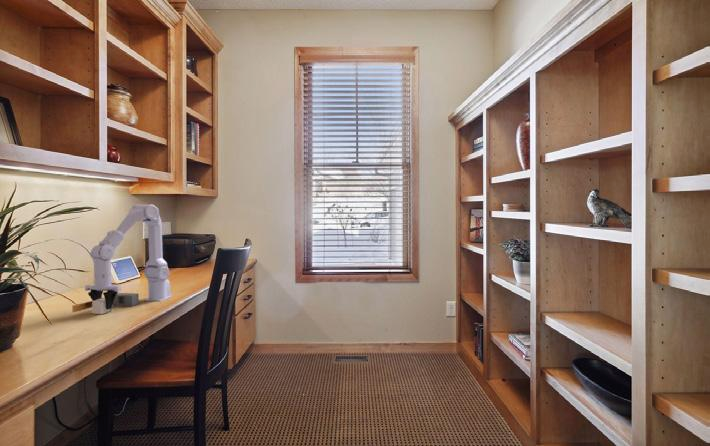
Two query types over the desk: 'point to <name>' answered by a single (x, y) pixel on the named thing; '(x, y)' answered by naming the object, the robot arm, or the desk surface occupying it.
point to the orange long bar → (82, 306)
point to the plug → (100, 306)
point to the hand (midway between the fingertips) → (103, 308)
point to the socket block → (126, 299)
